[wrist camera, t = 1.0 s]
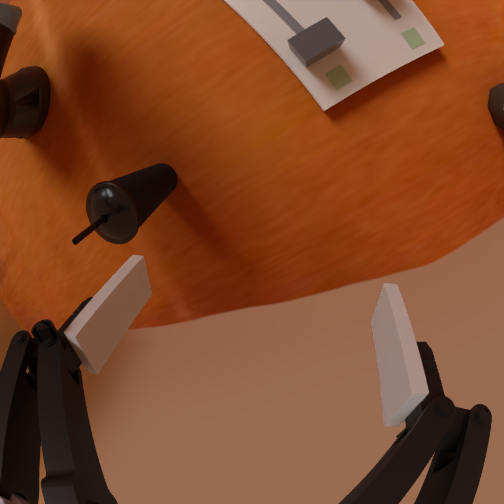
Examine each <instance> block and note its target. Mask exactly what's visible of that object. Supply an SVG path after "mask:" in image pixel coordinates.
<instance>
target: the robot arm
mask: <svg viewBox="0 0 504 504" xmlns="http://www.w3.org/2000/svg"><path fill="white" fill-rule="evenodd" d="M21 16H22V10H21V8H20V7H18V6H14V5H9V4H3V3H0V77H1V74H2V70H3V67H4V63H5V60H6V57H7V54H8V51H9V48H10V45H11V42H12V40H13V37H14V35H15V34H16V32H17V31H16V29H17V26H18V24H19V21H20V19H21ZM49 99H50V89H49V82H48V78H47V76H46V73H45V72H44V70H43V69H42V68H40V67H38V66H30V67H25V68H22V69H20V70H19V71H17V72H16V73H14V74H12V75H9V76H7V77H6V78H4V79H1V80H0V138H15V137H16V138H19V139H22V138H26V137H29V136H32V135H34V134H36V133H37V132H38V131H39V130H40V128H41V127H42V125H43V123H44V121H45V118H46V115H47V112H48V107H49ZM151 295H152V290H151V286H150V282H149V278H148V273H147V269H146V264H145V260H144V256H139V255H132V256H131V257H130V258H129V259H128V260H127V261H126V262H125V263H124V264H123V266H122V267H121V268H120V269H119V270H118V271H117V272H116V273H115V274H114V275H113V276H112V277H111V278H110V279H109V280H108V282H107V283H106V284H105V285H104V286H103V287H102V288H101V289H100V290H99V292H98V293H97V294H96V295H95V296H94V297H90V298H88V299H86V300H85V301H83V302H82V303H81V304H80V306H79V307H78V308H77V310H75V311H74V312H73V315H71V316H70V317H69V318H68V319H67V321H66V322H65V323H64V324H63V325H62V327H61V328H60V329H59V330H58V331H57V330H56V328H55V326H54V324H53V323H52V322H51V321H50V320H47V319H46V320H41V321H39V322H37V323H36V324H35V325H34V326H33V328H32V330H31V333H32V334H33V336H34V338H32V337H31V335H30V334H29V332H28V331H25V330H23V331H20V332H18V333H16V334H15V335H14V337H13V339H12V340H11V343H10V345H9V348H8V351H7V354H6V357H5V359H4V362H3V365H2V369H1V372H0V504H38V500H39V464H40V446H41V445H42V452H43V458H44V464H45V469H46V477H45V478H43V479H42V481H41V488H42V493H43V497H44V501H45V504H118V503H117V501H116V499H115V498H114V497H113V495H112V494H111V493H110V491H109V490H108V487H107V485H106V482H105V479H104V476H103V472H102V469H101V466H100V463H99V459H98V456H97V452H96V448H95V444H94V440H93V436H92V432H91V427H90V423H89V418H88V413H87V407H86V402H85V396H84V389H83V382H82V375H81V370H80V368H79V367H80V365H81V364H83V366H84V367H85V369H86V370H87V371H89V372H91V373H94V374H96V375H98V374H99V372H100V371H101V369H102V368H103V366H104V364H105V363H106V361H107V360H108V358H109V357H110V355H111V354H112V352H113V351H114V349H115V347H116V346H117V345H118V343H119V342H120V340H121V339H122V337H123V336H124V334H125V333H126V331H127V330H128V328H129V327H130V325H131V324H132V322H133V321H134V319H135V318H136V317H137V315H138V314H139V312H140V311H141V309H142V308H143V307H144V305H145V304H146V302H147V301H148V299H149V298H150V297H151ZM371 328H372V334H373V339H374V346H375V351H376V359H377V366H378V374H379V382H380V391H381V400H382V410H383V423H384V427H385V426H386V427H387V426H399V425H401V423H403V421H404V420H405V422H406V428H405V429H404V430H403V431H402V432H401V433H400V434H399V435H397V437H398V438H397V439H396V441H395V442H394V443H393V444H392V446H391V447H390V448H389V450H388V451H387V452H386V453H385V455H384V456H383V457H382V458H381V460H380V461H379V462H378V463H377V464H376V465H375V467H374V468H373V469H372V470H371V471H370V472H369V473H368V474H367V476H366V477H365V478H364V479H363V480H362V481H361V482H360V483H359V484H358V485H357V486H356V487H355V488H354V489H353V490H352V491H351V492H350V493H349V494H348V495H347V496H346V497H345V498H344V499H343V500H342V501H341V502H340V503H339V504H399V502H400V501H401V500H402V499H403V497H404V496H405V495H406V493H407V492H408V491H409V489H410V488H411V487H412V485H413V484H414V483H415V481H416V480H417V478H418V477H419V476H420V474H421V472H422V471H423V470H424V468H425V467H426V465H427V464H428V462H429V460H430V459H431V457H432V456H433V454H434V452H435V454H434V456H433V459H432V462H431V465H430V468H429V470H428V473H427V475H426V478H425V480H424V483H423V486H422V488H421V490H420V492H419V495H418V497H417V499H416V501H415V503H414V504H472V503H473V500H474V497H475V494H476V491H477V488H478V485H479V481H480V477H481V473H482V470H483V466H484V461H485V457H486V452H487V447H488V442H489V436H490V430H491V422H492V415H491V412H490V410H489V409H488V408H487V407H486V406H485V405H483V404H477V405H475V406H474V407H473V408H472V409H471V410H468V409H463V408H458V407H455V406H454V404H453V402H452V401H451V400H450V399H449V398H448V397H446V396H445V395H444V391H443V387H442V383H441V380H440V376H439V372H438V369H437V365H436V362H435V361H434V360H435V358H434V355H433V352H432V350H431V348H430V347H429V346H428V344H427V343H426V342H416V340H415V337H414V333H413V330H412V326H411V323H410V320H409V317H408V314H407V311H406V308H405V305H404V302H403V300H402V296H401V294H400V291H399V288H398V285H397V284H388V283H384V285H383V288H382V291H381V294H380V297H379V300H378V302H377V305H376V308H375V311H374V314H373V316H372V319H371ZM27 368H28V369H29V373H28V374H27V373H26V369H27Z"/></svg>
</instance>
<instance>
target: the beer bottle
mask: <svg viewBox="0 0 504 504" xmlns="http://www.w3.org/2000/svg"><path fill="white" fill-rule="evenodd" d="M488 108H489V110H490V112H491V115H492V117H493V120H494V123H495V124H496V125H498V126H499V127H501V128H502V129H504V83H501V84H499V85H497V86H495V87H493V88H491V89H490V94H489V102H488Z"/></svg>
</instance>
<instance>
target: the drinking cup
mask: <svg viewBox="0 0 504 504" xmlns="http://www.w3.org/2000/svg"><path fill="white" fill-rule="evenodd" d="M176 184H177V176H176V173H175V171H174V170H173V169H172V168H171V167H170V166H169V165H167V164H157V165H154V166H151V167H148V168H145V169H142V170H139V171H136V172H133V173H130V174H127V175H125V176H122V177H119V178H116V179H114V180H111V181H103V182H100V183H98V184H96V185H95V186H93V187H92V189H91V190H90V192H89V193H88V196H87V200H86V211H87V215H88V219H89V221H90V223H91V225H90V226H89V227H88V228H86V229H85V230H84V231H82V232H81V233H80V234H78V235H77V236H76V237H75V238H73V239H72V242H73V244H75V245H77V244H78V243H79V242H80V241H82V240H83V239H84V238H85V237H87V236H88V235H89V234H90V233H92V232H93V231H94V230H95V231H96V232H97V233H98V234H99V235H100V236H101V237H102V238H103V239H105V240H106V241H108V242H111V243H114V244H124V243H127V242H129V241H130V240H132V239H133V238H134V237H135V235H136V234H137V232H138V229H139V227H140V226H141V225H142V224H143V223H144V222H145V220H146V219H147V218H148V217H149V216H150V215H151V214H152V213H153V211H154V210H155V209H156V208H157V207H158V206H159V205H160V204H161V203H162V202H163V201H164V199H165V198H166V197H167V196H168V195H169V194H170V193H171V192H172V191H173V190H174V189H175V187H176Z"/></svg>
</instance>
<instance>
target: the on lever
mask: <svg viewBox="0 0 504 504" xmlns="http://www.w3.org/2000/svg"><path fill="white" fill-rule="evenodd" d="M345 39H346V38H345V37H344V36H343V35H342V33H341V32H340V31H339V30H338V29H337V28H336V27H335V25H334V24H333V23H332V22H331V21H330V20H329V19H328V18H327V17H326V18H324V19H322V20H320V21H318V22H317V23H315V24H313V25H311V26H310V27H308V28H306V29H305V30H303V31H301V32H300V33H298V34H296V35H295V36H293V37H291V38H290V39H288V40H287V41H288V44H289V47H290V50H291V51H292V52H293V53H294V54H295V55H296V56H297V58H298V59H299V60H300V61H301V62H302V63H303V65H304V66H305V67H306V68H307V67H308V66H310V65H311V64H313V63H315V62H316V61H318V60H319V59H321V58H323V57H324V56H326V55H328V54H330V53H331V52H333V51H335V50H337V49H338V48H340V47H341V45H342V44H343V42H344V41H345Z"/></svg>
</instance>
